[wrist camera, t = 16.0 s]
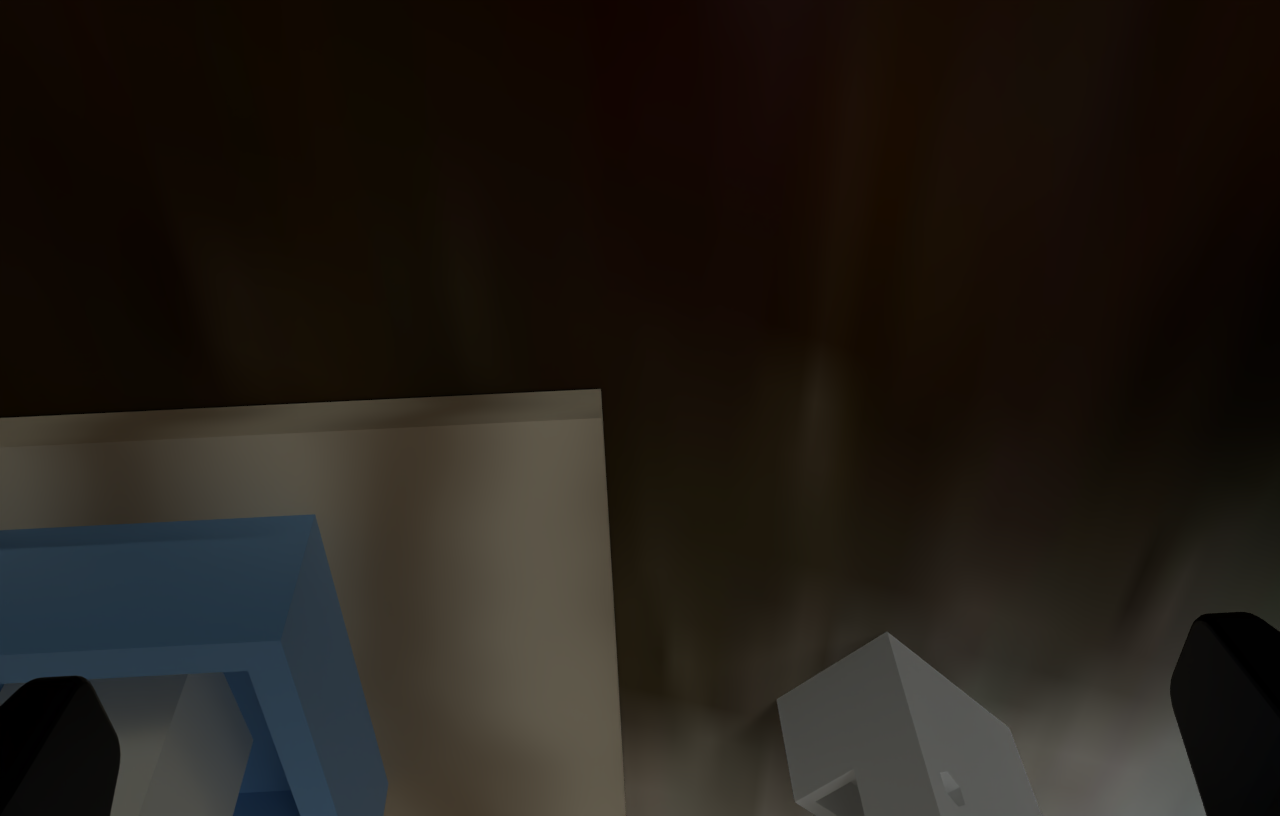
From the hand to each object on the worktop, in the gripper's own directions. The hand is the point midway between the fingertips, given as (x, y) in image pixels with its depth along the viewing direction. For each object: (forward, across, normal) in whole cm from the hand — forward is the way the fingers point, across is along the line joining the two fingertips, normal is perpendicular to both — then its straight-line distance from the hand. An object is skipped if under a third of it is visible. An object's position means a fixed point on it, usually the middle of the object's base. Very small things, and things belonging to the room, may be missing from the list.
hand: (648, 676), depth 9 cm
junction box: (+12, +12, +14) cm, 21 cm away
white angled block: (+13, -7, +18) cm, 23 cm away
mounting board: (+13, +12, +14) cm, 22 cm away
